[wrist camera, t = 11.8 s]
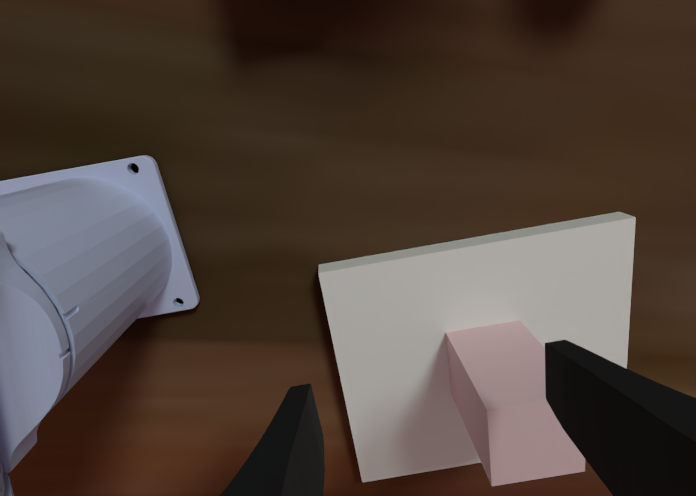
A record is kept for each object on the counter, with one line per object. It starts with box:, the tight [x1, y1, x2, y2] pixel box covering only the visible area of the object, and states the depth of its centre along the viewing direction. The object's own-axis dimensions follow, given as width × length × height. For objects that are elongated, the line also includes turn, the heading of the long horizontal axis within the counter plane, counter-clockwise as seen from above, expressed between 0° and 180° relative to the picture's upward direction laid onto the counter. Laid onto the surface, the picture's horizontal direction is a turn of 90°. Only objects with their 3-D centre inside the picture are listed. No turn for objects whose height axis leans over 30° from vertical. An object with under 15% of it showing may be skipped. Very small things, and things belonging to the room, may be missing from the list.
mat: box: [318, 212, 636, 483], centre depth 23 cm, size 16×14×1 cm
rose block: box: [446, 320, 585, 486], centre depth 19 cm, size 4×4×6 cm
